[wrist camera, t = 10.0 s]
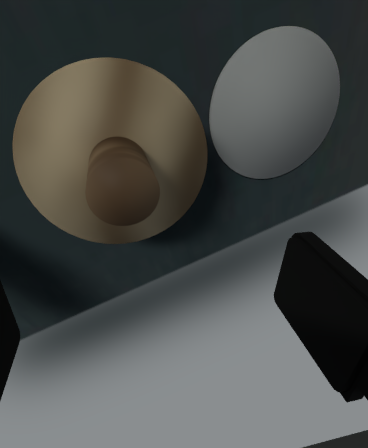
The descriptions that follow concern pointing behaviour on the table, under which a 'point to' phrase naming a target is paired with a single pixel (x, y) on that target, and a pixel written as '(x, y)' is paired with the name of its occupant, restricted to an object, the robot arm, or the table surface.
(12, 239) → the table surface
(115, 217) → the lid
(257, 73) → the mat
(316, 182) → the table surface
